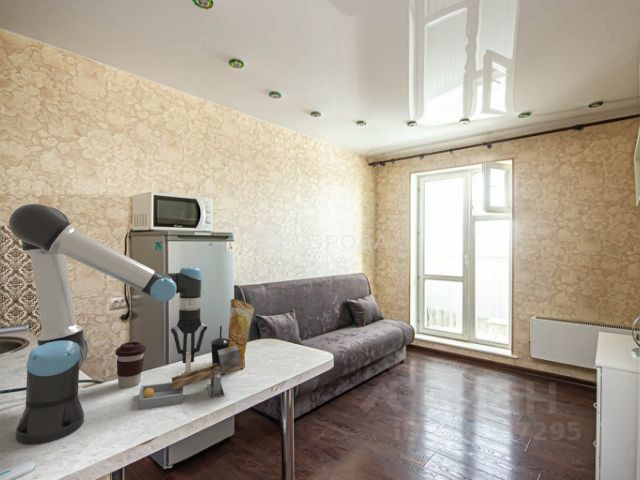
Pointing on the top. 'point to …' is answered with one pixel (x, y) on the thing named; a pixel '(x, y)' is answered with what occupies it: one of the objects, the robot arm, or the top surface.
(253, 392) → the top surface
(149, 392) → the ball
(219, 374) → the stand
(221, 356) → the lever
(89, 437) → the top surface
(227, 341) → the drinking cup
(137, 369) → the coffee cup
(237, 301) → the pancake mix bag
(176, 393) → the dish
